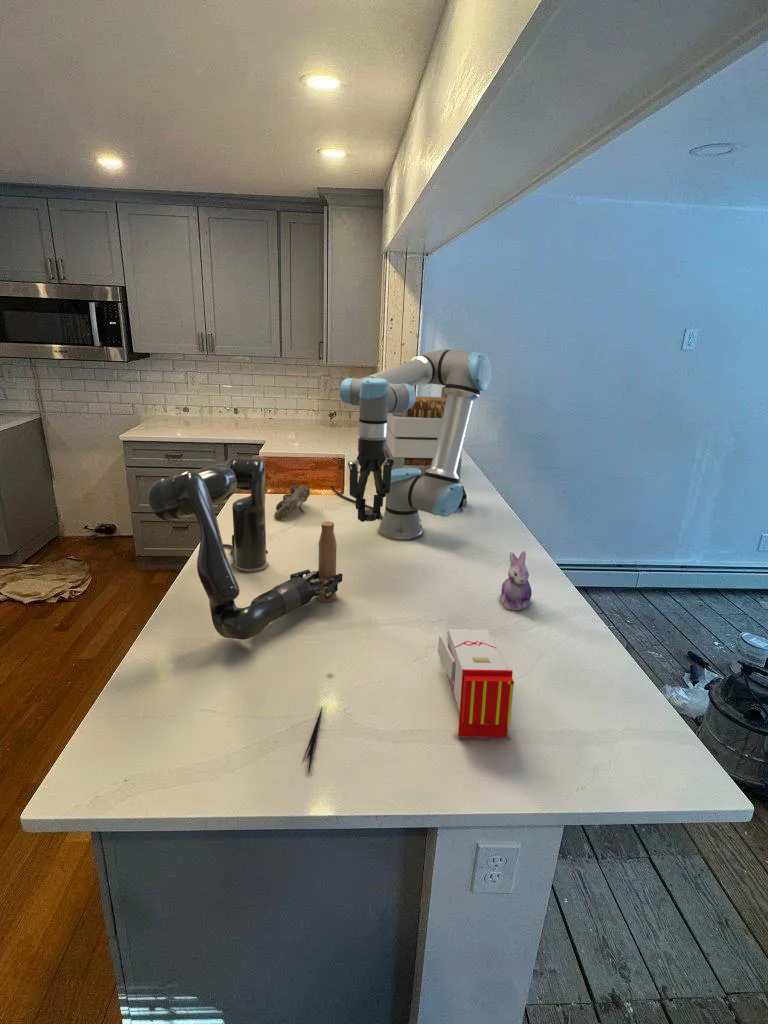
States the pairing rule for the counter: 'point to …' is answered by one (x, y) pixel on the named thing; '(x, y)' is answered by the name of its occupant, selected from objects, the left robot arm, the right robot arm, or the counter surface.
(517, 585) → the figurine
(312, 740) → the feather
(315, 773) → the counter surface
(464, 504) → the figurine character
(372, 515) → the cap
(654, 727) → the counter surface
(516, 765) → the counter surface
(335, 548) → the bottle
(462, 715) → the toy
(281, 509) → the fossil
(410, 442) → the stacked slatted crates
